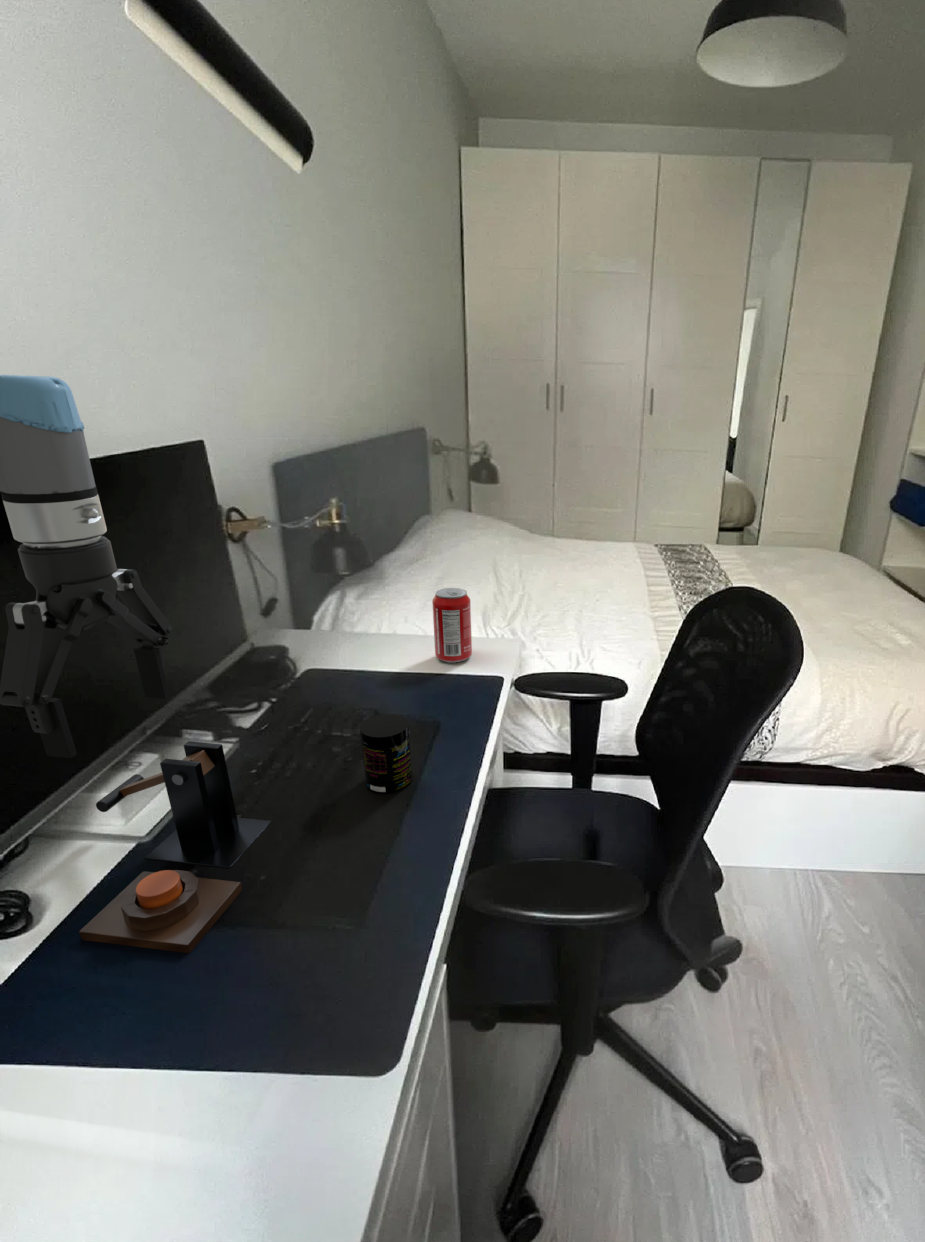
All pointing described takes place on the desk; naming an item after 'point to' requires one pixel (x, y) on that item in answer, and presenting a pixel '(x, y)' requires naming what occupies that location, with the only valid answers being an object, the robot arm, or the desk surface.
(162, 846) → the bracket
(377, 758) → the supplement container
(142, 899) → the button
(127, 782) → the lever
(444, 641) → the soda can
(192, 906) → the button block
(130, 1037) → the desk surface
